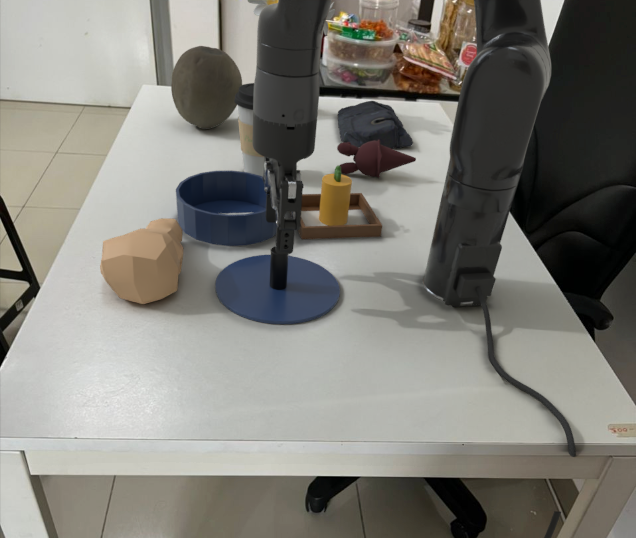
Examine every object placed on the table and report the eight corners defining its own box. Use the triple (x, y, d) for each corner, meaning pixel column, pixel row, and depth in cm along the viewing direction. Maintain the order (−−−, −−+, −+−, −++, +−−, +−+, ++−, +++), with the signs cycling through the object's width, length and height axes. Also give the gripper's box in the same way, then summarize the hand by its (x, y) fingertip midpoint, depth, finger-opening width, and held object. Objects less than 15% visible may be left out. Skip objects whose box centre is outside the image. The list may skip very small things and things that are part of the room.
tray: (380, 239, 105) (382, 225, 103) (301, 242, 102) (302, 228, 100) (360, 206, 114) (361, 192, 112) (286, 208, 111) (287, 194, 109)
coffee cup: (244, 188, 115) (244, 100, 105) (227, 167, 121) (226, 82, 112) (292, 183, 119) (297, 97, 109) (274, 163, 125) (277, 80, 115)
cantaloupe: (222, 142, 130) (220, 62, 121) (161, 128, 134) (154, 49, 124) (252, 122, 141) (253, 46, 131) (194, 110, 144) (191, 35, 134)
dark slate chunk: (398, 116, 152) (402, 95, 149) (414, 151, 135) (418, 128, 132) (334, 112, 150) (336, 90, 147) (342, 147, 134) (344, 123, 131)
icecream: (415, 137, 124) (337, 137, 124) (419, 141, 117) (337, 141, 117) (412, 175, 127) (336, 175, 127) (416, 181, 120) (336, 180, 120)
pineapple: (350, 226, 106) (357, 171, 100) (322, 227, 105) (327, 171, 99) (343, 213, 110) (349, 159, 104) (315, 213, 109) (320, 159, 103)
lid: (353, 323, 86) (359, 281, 82) (223, 332, 82) (222, 288, 78) (323, 258, 99) (327, 218, 94) (209, 263, 95) (207, 222, 90)
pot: (290, 246, 101) (291, 214, 97) (182, 251, 97) (180, 217, 93) (271, 200, 112) (272, 169, 109) (174, 202, 109) (172, 171, 105)
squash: (97, 316, 83) (76, 250, 78) (135, 258, 100) (119, 200, 95) (179, 309, 83) (163, 242, 77) (203, 252, 99) (191, 193, 94)
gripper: (245, 89, 79) (243, 212, 90) (262, 132, 69) (258, 265, 80) (305, 91, 81) (296, 211, 91) (330, 133, 70) (317, 263, 81)
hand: (278, 236), depth 85 cm, fingers open, 8 cm apart
